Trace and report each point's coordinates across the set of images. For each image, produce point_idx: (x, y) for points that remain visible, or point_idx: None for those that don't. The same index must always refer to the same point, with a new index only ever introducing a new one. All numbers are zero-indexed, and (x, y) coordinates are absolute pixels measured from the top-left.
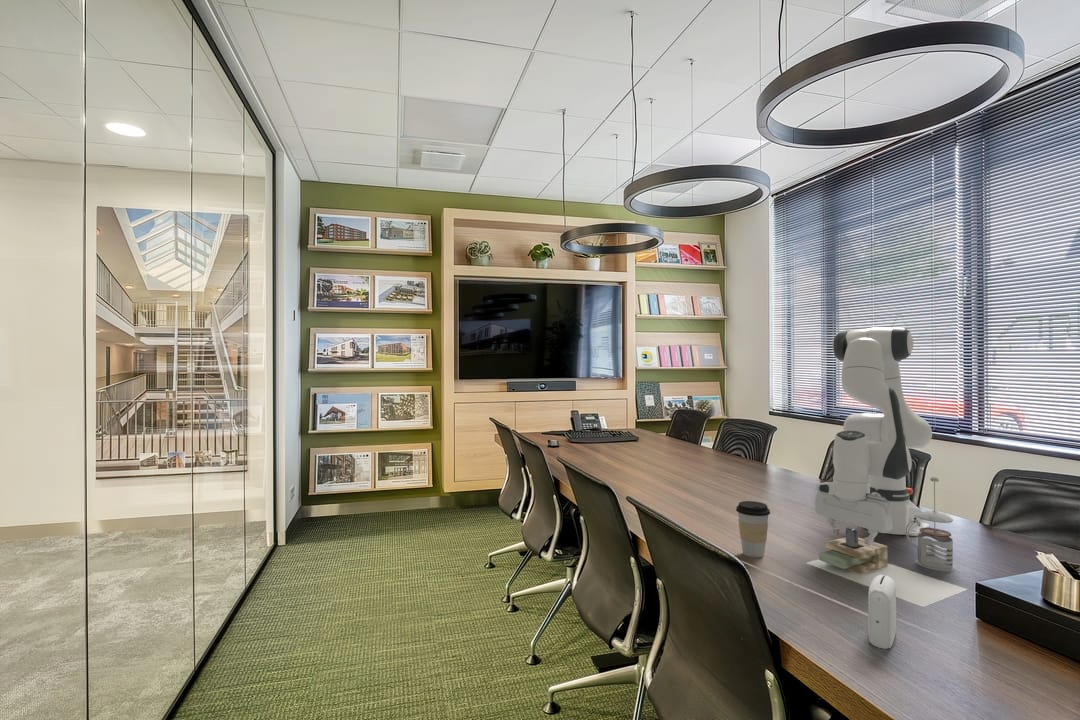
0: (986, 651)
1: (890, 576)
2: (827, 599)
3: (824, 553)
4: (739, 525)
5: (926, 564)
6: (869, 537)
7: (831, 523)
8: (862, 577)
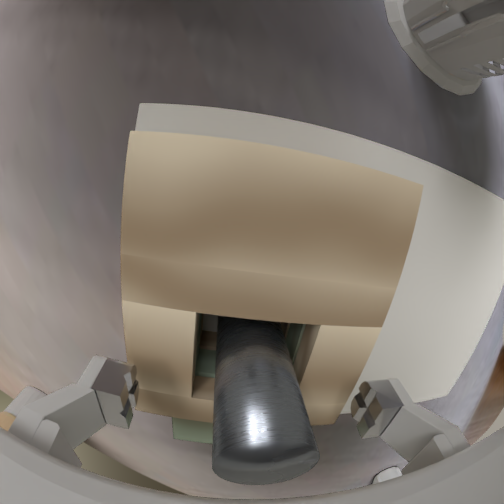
0: (477, 414)
1: (395, 296)
2: (294, 479)
3: (186, 432)
4: None
5: (450, 71)
6: (396, 444)
7: (73, 441)
8: None
